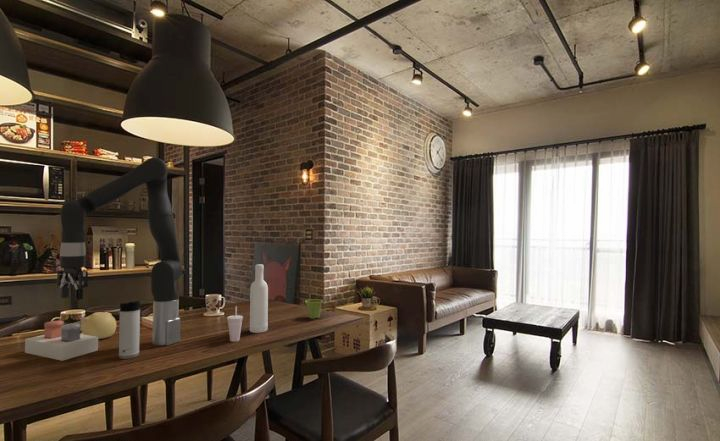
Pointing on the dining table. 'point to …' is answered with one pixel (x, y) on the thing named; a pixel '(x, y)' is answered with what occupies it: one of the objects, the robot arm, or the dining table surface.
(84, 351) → the socket panel
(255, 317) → the bottle
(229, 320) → the smoothie
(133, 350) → the travel mug
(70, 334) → the grey cube
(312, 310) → the plant pot
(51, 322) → the pink gift box
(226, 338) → the dining table surface
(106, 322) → the pale yellow round lump
